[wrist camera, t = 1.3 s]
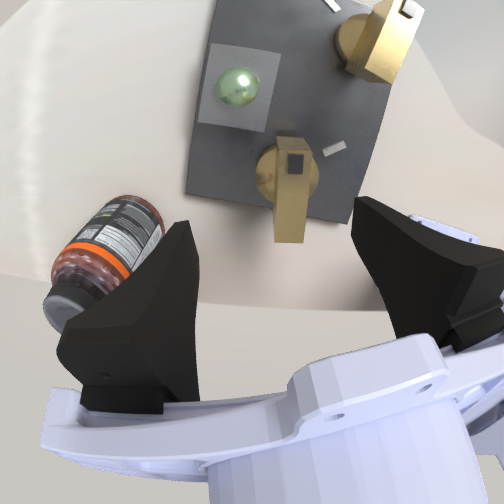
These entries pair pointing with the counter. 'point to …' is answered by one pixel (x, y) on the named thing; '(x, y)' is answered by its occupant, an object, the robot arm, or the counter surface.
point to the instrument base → (283, 102)
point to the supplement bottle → (101, 257)
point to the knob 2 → (378, 39)
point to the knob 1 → (287, 185)
